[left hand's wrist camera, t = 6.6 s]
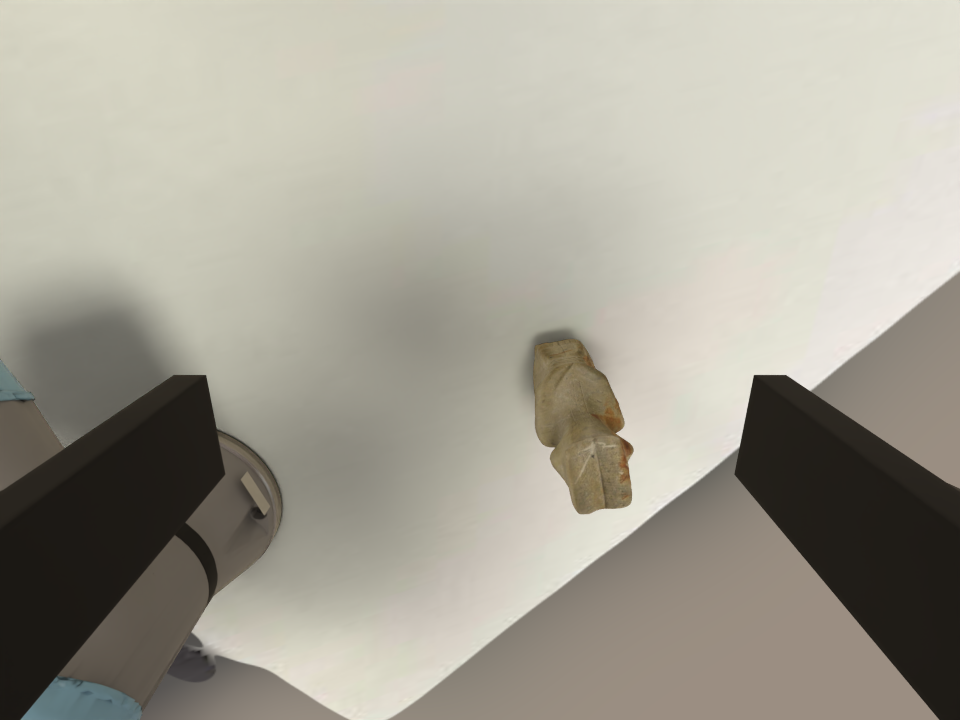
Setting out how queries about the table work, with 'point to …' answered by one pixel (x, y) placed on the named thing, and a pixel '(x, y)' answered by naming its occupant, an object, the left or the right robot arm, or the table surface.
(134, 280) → the table surface
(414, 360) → the table surface
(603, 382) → the sculpture
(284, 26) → the table surface
